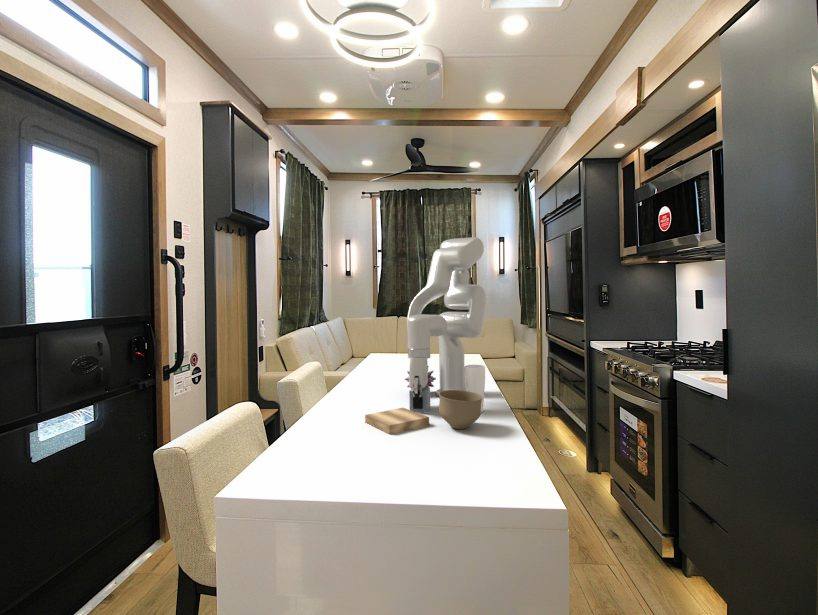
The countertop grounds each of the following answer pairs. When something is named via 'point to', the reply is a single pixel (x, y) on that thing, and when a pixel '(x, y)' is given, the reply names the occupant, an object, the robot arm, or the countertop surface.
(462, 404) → the bowl
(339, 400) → the countertop surface
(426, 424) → the block
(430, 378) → the purple spiky ball
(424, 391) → the slate tea tin
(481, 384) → the drinking glass
